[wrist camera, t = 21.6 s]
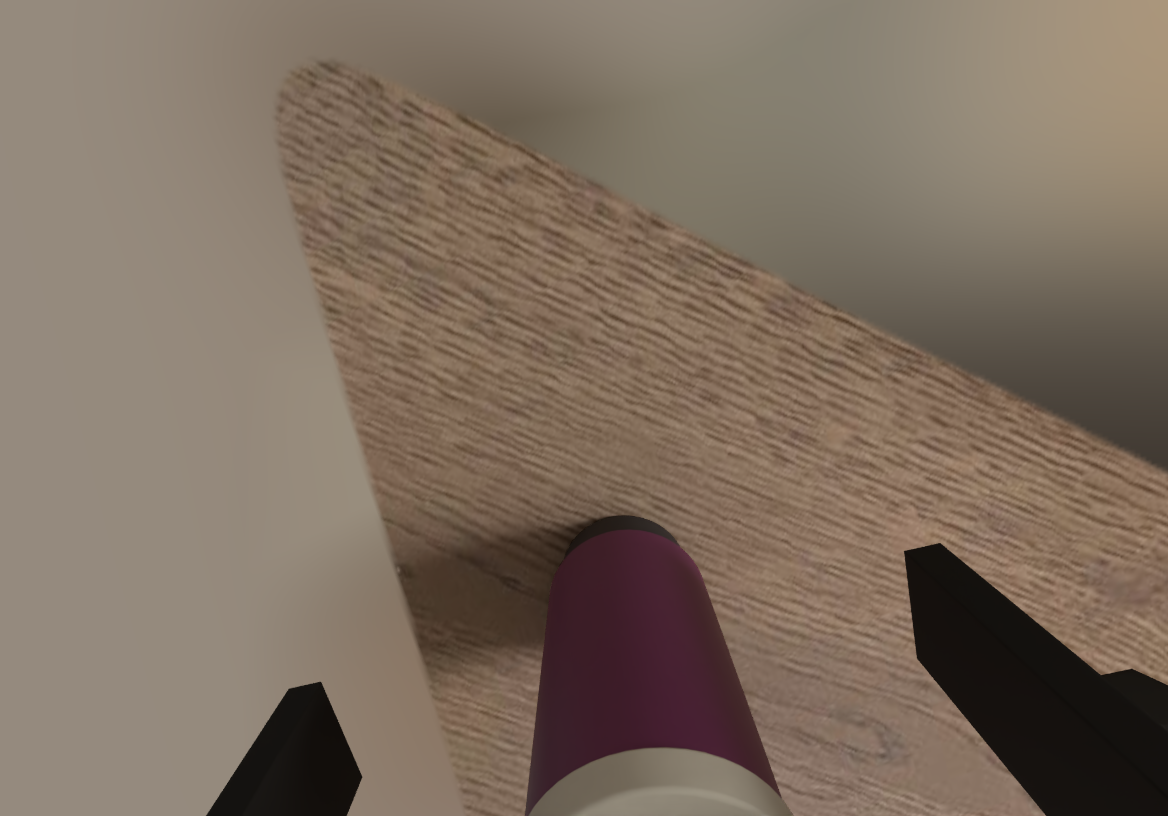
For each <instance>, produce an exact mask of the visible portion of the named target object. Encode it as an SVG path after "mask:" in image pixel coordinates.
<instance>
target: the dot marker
mask: <svg viewBox="0 0 1168 816" xmlns="http://www.w3.org/2000/svg"><path fill="white" fill-rule="evenodd" d="M525 816H793V814H792V812H791V811H790V809H789V808H788V807H787V805H786V804H785V802H784V801H783V800H782V797H781V795H780V792H779V789H778V786H777V784H776V781H775V778H774V775H773V772H772V770H771V767H770V764H769V761H768V759H767V756H766V753H765V750H764V747H763V745H762V742H761V739H760V736H759V734H758V731H757V728H756V725H755V722H754V720H753V717H752V714H751V711H750V709H749V706H748V703H747V700H746V698H745V695H744V692H743V689H742V686H741V684H740V681H739V678H738V675H737V673H736V670H735V667H734V664H733V661H732V659H731V656H730V653H729V650H728V648H727V645H726V642H725V639H724V636H723V634H722V631H721V628H720V625H719V623H718V620H717V617H716V614H715V611H714V609H713V606H712V603H711V600H710V598H709V595H708V592H707V589H706V587H705V584H704V581H703V578H702V576H701V573H700V571H699V569H698V567H697V566H696V564H695V563H694V561H693V560H692V559H691V557H690V556H689V555H688V554H687V553H686V552H685V551H684V550H683V549H682V548H680V546H679V544H678V543H677V541H676V540H675V539H674V537H673V536H672V535H671V534H670V533H669V532H668V531H667V530H665V529H664V528H663V527H661V526H660V525H658V524H656V523H654V522H652V521H650V520H647V519H644V518H640V517H635V516H615V517H610V518H606V519H603V520H600V521H598V522H596V523H594V524H592V525H590V526H588V527H587V528H586V529H584V530H583V531H582V532H581V533H580V534H579V535H578V536H577V537H576V538H575V539H574V540H573V542H572V543H571V544H570V546H569V548H568V550H567V552H566V555H565V557H564V561H563V562H562V563H561V564H560V566H559V568H558V570H557V571H556V573H555V576H554V578H553V581H552V584H551V589H550V595H549V604H548V613H547V622H546V631H545V640H544V649H543V658H542V667H541V676H540V685H539V694H538V703H537V712H536V721H535V730H534V739H533V748H532V757H531V766H530V775H529V784H528V793H527V802H526V811H525Z"/></svg>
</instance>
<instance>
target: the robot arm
mask: <svg viewBox="0 0 1168 816" xmlns="http://www.w3.org/2000/svg"><path fill="white" fill-rule="evenodd" d="M904 555H905V563H906V571H907V579H908V588H909V596H910V604H911V613H912V621H913V629H914V637H915V646H916V654H917V659H918V660H919V661H920V663H921V664H922V665H923V666H924V667H925V669H926V670H927V671H928V672H929V674H930V675H931V676H932V677H933V678H934V680H935V681H936V682H937V683H938V685H939V686H940V687H941V688H942V689H943V691H944V692H945V693H946V694H947V696H948V697H949V698H950V699H951V700H952V702H953V703H954V704H955V705H956V706H957V708H958V709H959V710H960V711H961V713H962V714H963V715H964V716H965V717H966V719H967V720H968V721H969V722H970V724H971V725H972V726H973V727H974V728H975V730H976V731H977V732H978V733H979V734H980V736H981V737H982V738H983V739H984V741H985V742H986V743H987V744H988V745H989V747H990V748H991V749H992V750H993V752H994V753H995V754H996V755H997V756H998V758H999V759H1000V760H1001V761H1002V762H1003V764H1004V765H1005V766H1006V767H1007V769H1008V770H1009V771H1010V772H1011V773H1012V775H1013V776H1014V777H1015V778H1016V780H1017V781H1018V782H1019V783H1020V784H1021V786H1022V787H1023V788H1024V789H1025V790H1026V792H1027V793H1028V794H1029V795H1030V797H1031V798H1032V799H1033V800H1034V801H1035V803H1036V804H1037V805H1038V806H1039V808H1040V809H1041V810H1042V811H1043V812H1044V814H1045V815H1046V816H1168V685H1166V684H1164V683H1162V682H1160V681H1157V680H1155V679H1153V678H1151V677H1149V676H1147V675H1144V674H1142V673H1140V672H1138V671H1136V670H1133V669H1129V670H1124V671H1119V672H1114V673H1110V674H1105V675H1100V674H1099V673H1098V672H1096V671H1095V670H1094V669H1093V668H1092V667H1090V666H1089V665H1088V664H1087V663H1085V662H1084V661H1083V660H1082V659H1081V658H1079V657H1078V656H1077V655H1076V654H1074V653H1073V652H1072V651H1071V650H1070V649H1068V648H1067V647H1066V646H1065V645H1064V644H1062V643H1061V642H1060V641H1059V640H1057V639H1056V638H1055V637H1054V636H1053V635H1051V634H1050V633H1049V632H1048V631H1046V630H1045V629H1044V628H1043V627H1042V626H1040V625H1039V624H1038V623H1037V622H1036V621H1034V620H1033V619H1032V618H1031V617H1029V616H1028V615H1027V614H1026V613H1025V612H1023V611H1022V610H1021V609H1020V608H1019V607H1017V606H1016V605H1015V604H1014V603H1012V602H1011V601H1010V600H1009V599H1008V598H1006V597H1005V596H1004V595H1003V594H1001V593H1000V592H999V591H998V590H997V589H995V588H994V587H993V586H992V585H991V584H989V583H988V582H987V581H986V580H984V579H983V578H982V577H981V576H980V575H978V574H977V573H976V572H975V571H973V570H972V569H971V568H970V567H969V566H967V565H966V564H965V563H964V562H963V561H961V560H960V559H959V558H958V557H956V556H955V555H954V554H953V553H952V552H950V551H949V550H948V549H947V548H945V547H944V546H943V545H942V544H941V543H938V544H934V545H929V546H925V547H920V548H916V549H911V550H907V551H904ZM361 779H362V775H361V773H360V771H359V768H358V766H357V764H356V761H355V759H354V757H353V754H352V752H351V750H350V747H349V745H348V743H347V741H346V738H345V736H344V734H343V731H342V729H341V727H340V724H339V722H338V720H337V717H336V715H335V713H334V711H333V708H332V706H331V704H330V701H329V699H328V697H327V695H326V692H325V690H324V688H323V685H322V683H321V682H317V683H313V684H308V685H304V686H299V687H295V688H291V689H288V691H287V692H286V694H285V696H284V697H283V699H282V700H281V702H280V703H279V705H278V706H277V708H276V709H275V711H274V713H273V714H272V715H271V717H270V719H269V720H268V722H267V723H266V725H265V726H264V728H263V729H262V731H261V732H260V734H259V736H258V737H257V739H256V740H255V742H254V743H253V745H252V747H251V748H250V749H249V751H248V752H247V754H246V756H245V757H244V758H243V760H242V762H241V763H240V765H239V766H238V768H237V769H236V771H235V772H234V774H233V775H232V777H231V778H230V780H229V782H228V783H227V785H226V786H225V788H224V789H223V791H222V792H221V794H220V795H219V797H218V799H217V800H216V802H215V803H214V805H213V806H212V808H211V809H210V811H209V812H208V814H207V815H206V816H347V814H348V811H349V809H350V806H351V804H352V801H353V799H354V796H355V794H356V791H357V789H358V787H359V784H360V781H361Z"/></svg>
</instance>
